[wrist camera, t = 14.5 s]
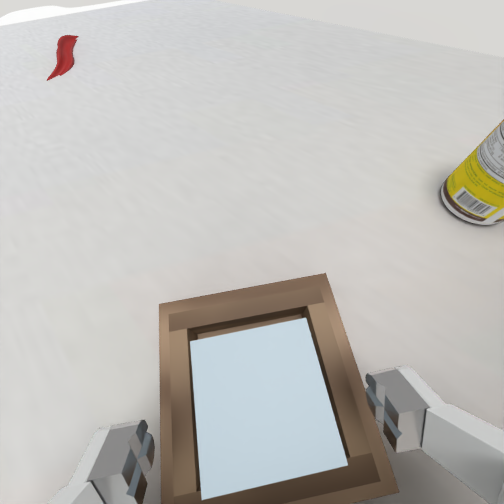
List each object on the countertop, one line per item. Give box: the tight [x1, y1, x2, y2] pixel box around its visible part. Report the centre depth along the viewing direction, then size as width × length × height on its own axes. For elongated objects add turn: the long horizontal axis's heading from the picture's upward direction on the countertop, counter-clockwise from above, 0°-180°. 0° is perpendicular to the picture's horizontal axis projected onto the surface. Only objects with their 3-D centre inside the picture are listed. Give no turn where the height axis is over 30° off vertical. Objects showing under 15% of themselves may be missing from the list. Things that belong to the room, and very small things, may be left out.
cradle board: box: [159, 273, 399, 504], centre depth 14 cm, size 12×12×4 cm
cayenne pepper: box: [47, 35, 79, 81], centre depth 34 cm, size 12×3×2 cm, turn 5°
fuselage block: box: [190, 318, 348, 500], centre depth 11 cm, size 4×4×8 cm
